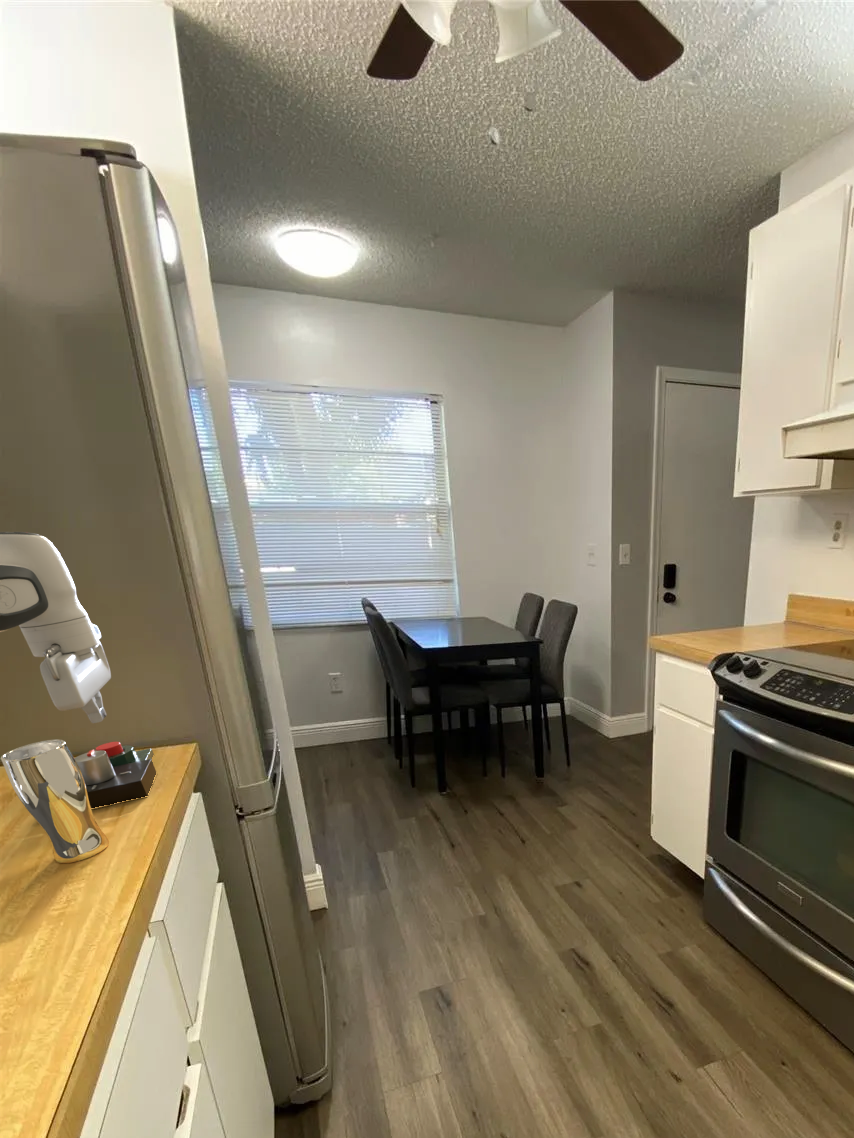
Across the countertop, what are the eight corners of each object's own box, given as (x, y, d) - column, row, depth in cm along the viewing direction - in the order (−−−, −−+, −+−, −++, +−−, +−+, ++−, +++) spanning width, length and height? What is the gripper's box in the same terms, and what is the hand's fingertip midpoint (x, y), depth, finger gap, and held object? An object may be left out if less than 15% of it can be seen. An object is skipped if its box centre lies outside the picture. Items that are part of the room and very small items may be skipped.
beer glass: (113, 851, 85) (65, 748, 78) (49, 871, 81) (-6, 766, 75) (113, 832, 90) (68, 734, 84) (53, 850, 87) (2, 749, 80)
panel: (50, 819, 96) (41, 801, 95) (68, 794, 104) (60, 777, 103) (147, 797, 100) (140, 779, 99) (157, 774, 109) (150, 757, 107)
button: (97, 760, 107) (92, 751, 106) (102, 753, 110) (97, 744, 109) (121, 755, 108) (117, 746, 108) (125, 749, 111) (121, 739, 111)
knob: (112, 780, 100) (101, 755, 98) (79, 787, 98) (68, 762, 97) (118, 770, 104) (107, 746, 102) (86, 777, 102) (75, 752, 100)
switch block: (80, 789, 106) (70, 768, 104) (92, 772, 112) (82, 752, 111) (148, 774, 109) (139, 753, 107) (155, 759, 116) (147, 738, 114)
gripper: (67, 647, 93) (107, 734, 99) (100, 625, 110) (132, 700, 116) (16, 656, 91) (59, 744, 97) (57, 632, 108) (92, 708, 114)
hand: (99, 720), depth 107 cm, fingers closed
